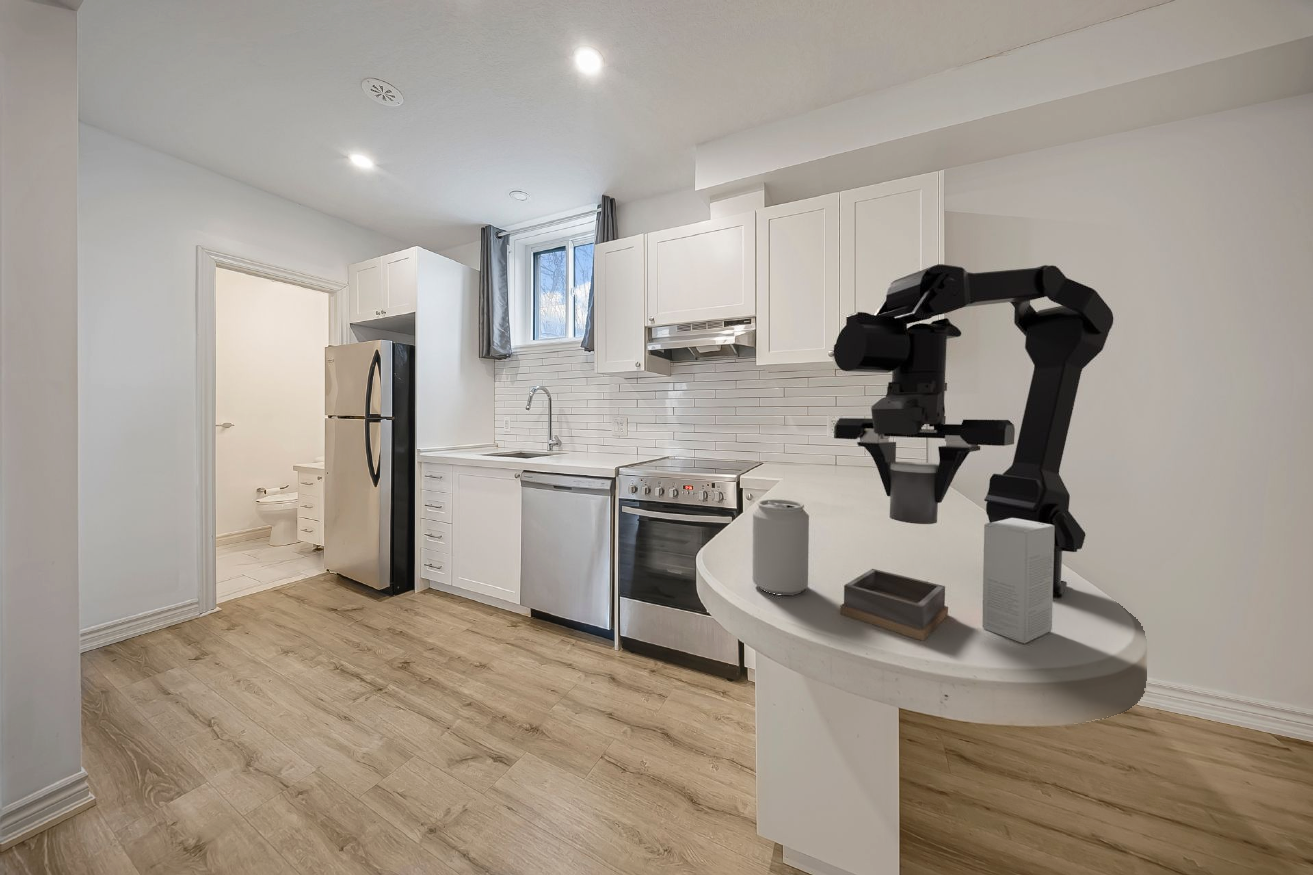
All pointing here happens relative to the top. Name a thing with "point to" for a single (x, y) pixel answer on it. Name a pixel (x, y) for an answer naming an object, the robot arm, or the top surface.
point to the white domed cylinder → (913, 492)
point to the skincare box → (1018, 578)
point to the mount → (895, 603)
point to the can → (780, 546)
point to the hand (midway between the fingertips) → (913, 499)
